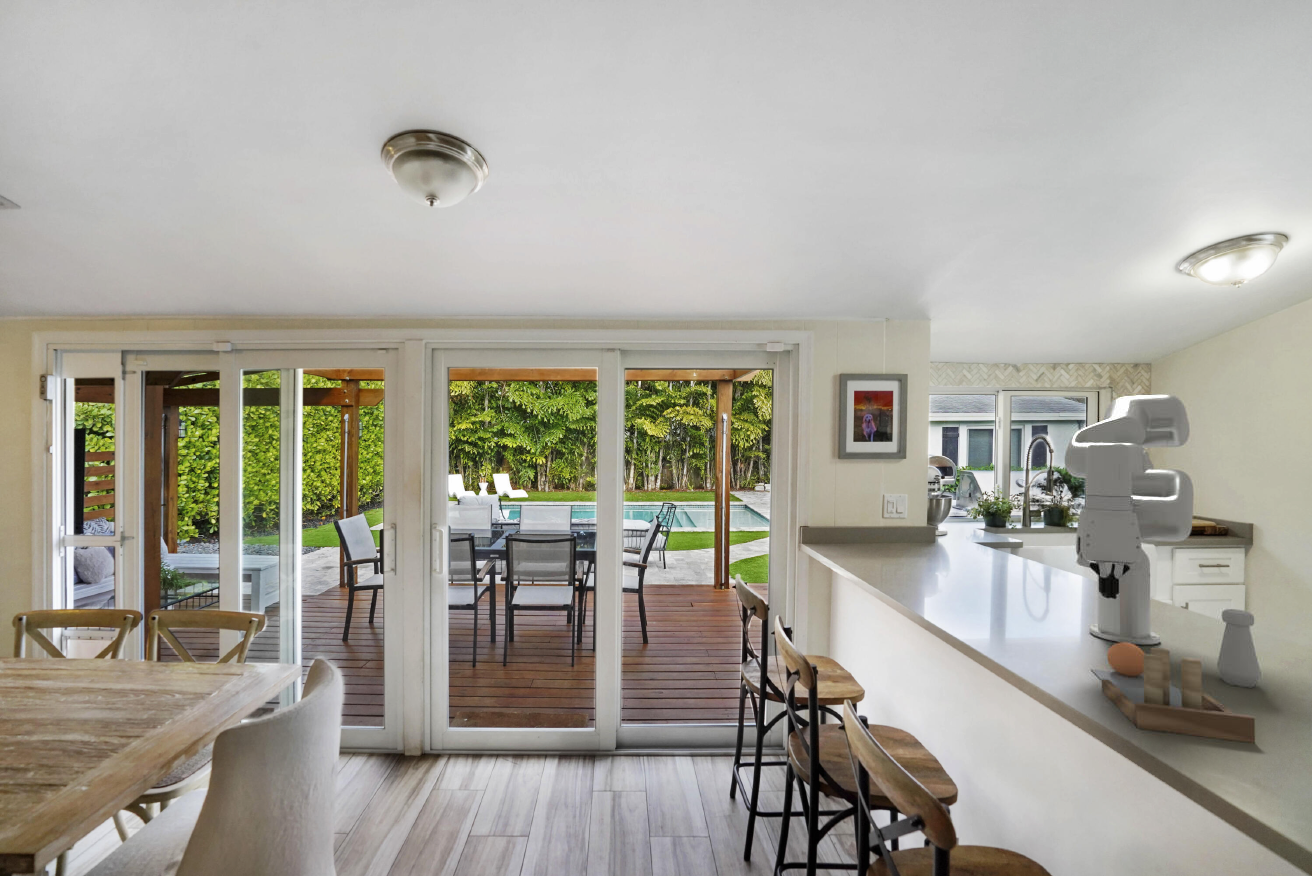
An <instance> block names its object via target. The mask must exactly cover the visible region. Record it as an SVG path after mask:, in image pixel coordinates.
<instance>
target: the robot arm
mask: <svg viewBox="0 0 1312 876" xmlns="http://www.w3.org/2000/svg"><path fill="white" fill-rule="evenodd" d="M1190 431H1191V429H1190V423H1189V418H1188V414H1187V410H1186V406H1185V405H1184V403H1183V402H1182V401H1181V399H1179V397H1177V396H1175V395H1172V394H1151V395H1149V394H1148V395H1146V394H1145V395H1129V396H1128V395H1126V396H1122V397H1118V398H1116V399H1114V400H1112V401H1111V402H1110V403H1109V404H1108V406H1107V407H1106V411H1105V413H1104V416H1103V419H1102V421H1099V422H1097V423H1095V424H1092V425H1090V426H1087V427H1084V428H1083V429H1081V430H1079V431H1077V432H1075V433H1074V434H1073V436H1072V437H1071V438H1070V441H1069V443H1068V445H1067V448H1066V450H1065V454H1064V467H1065V469H1066V471H1067V472H1068V473H1069V474H1070V475H1071V476H1072V477H1074V478H1079V479H1084V480H1085V481H1084V482H1085V487H1084V488H1085V489H1084V490H1085V492H1084V493H1085V495H1084V496H1085V498H1084V499H1085V509H1083V510H1082V509H1081V510H1080V512H1079V515H1078V516H1079V517H1078V522H1077V528H1076V538H1075V539H1076V540H1075V553H1076V555H1077V559H1076V564H1077V565H1079V566H1081V567H1085V568H1089V569H1091V570H1092V571H1093V572H1094V573H1095V574H1096V576H1097V578H1096V579H1097V581H1096V582H1097V583H1096V584H1097V585H1096V587H1097V590H1096V591H1097V593H1096V594H1097V623H1096V624H1094V623H1093V624H1091V625H1090V626H1089V633H1091V635H1093V636H1095V637H1099V638H1101V639H1103V640H1108V641H1112V642H1116V643H1121V642H1127V643H1131V644H1134V645H1140V646H1141V645H1143V646H1144V645H1145V646H1146V645H1148V646H1149V645H1156V644H1159V643H1160V640H1161V637H1160V635H1159V634H1157V633H1156V632H1154V631H1152V630H1151V562H1150V558H1149V556H1148V554H1147V553H1146V551H1145V550H1144V549H1143V548H1142V540H1145V541H1146V540H1148V541H1159V542H1162V541H1163V542H1182V541H1185V540H1186V539H1188V538H1189V536H1190V535H1191V533H1192V528H1193V521H1194V520H1193V515H1194V498H1195V497H1194V485H1193V481H1192V480H1191V477H1190V475H1189V474H1188V473H1187V472H1185V471H1183V470H1179V469H1173V468H1154V464H1153V462H1152V461H1151V459H1150V455H1149V454H1148V452H1147V451H1146V450H1145V448H1179V447H1182V446H1184V445H1185V444H1186V443H1187V442H1188V440H1189V437H1190Z"/></svg>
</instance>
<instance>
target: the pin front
mask: <svg viewBox="0 0 1312 876" xmlns="http://www.w3.org/2000/svg"><path fill="white" fill-rule="evenodd" d="M1150 654H1152V655H1157V656H1160V657H1162V658H1163V705H1165V706H1170V684H1171V681H1170V680H1171V679H1170V677H1171V676H1170V675H1171V671H1170V670H1171V669H1170V662H1171V661H1170V650H1168V649H1165V648H1161V647H1150Z"/></svg>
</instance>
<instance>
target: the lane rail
mask: <svg viewBox="0 0 1312 876" xmlns="http://www.w3.org/2000/svg"><path fill="white" fill-rule="evenodd" d="M1101 691H1102V692H1103V693H1104V694H1105V695H1106V696H1107V697H1108V698H1109V700H1111V701H1112V702H1114V703H1115V704H1116V705H1117V706H1118V707H1119V708H1120V709H1121V710H1122V711H1123V712H1124V713H1125V714H1126V715H1125V714H1124V713H1123V712H1122V711H1121V710H1120V709H1119V708H1118V707H1117V706H1116V705H1115V704H1114V703H1113V704H1114V705H1115V706H1116V707H1117V708H1118V709H1119V710H1120V711H1121V712H1122V713H1123V714H1124V715H1125V716H1126V717H1127V716H1128V717H1127V718H1128V720H1130V719H1131V720H1130V721H1131V722H1132V723H1133V725H1134V726H1135V725H1136V726H1137V727H1138V728H1139V730H1145V731H1146V730H1148V731H1154V730H1157V731H1156V732H1162V731H1167V732H1166V733H1171V732H1173V733H1172V734H1179V733H1181V735H1188V736H1189V735H1190V736H1196V737H1197V736H1198V737H1205V738H1211V739H1212V738H1213V739H1222V740H1227V741H1228V740H1229V741H1235V742H1236V741H1237V742H1246V743H1252V744H1256V736H1255V735H1256V730H1255V729H1256V726H1255V724H1256V722H1255V721H1256V718H1255V717H1254V716H1252V715H1251V714H1246V713H1244V714H1243V713H1236V712H1232V711H1231V710H1229V709H1228V708H1227V707H1225V706H1224V705H1223V704H1222V703H1220V702H1219V701H1217V699H1215V698H1214V697H1212V696H1211V695H1210V694H1209V693H1206V692H1205V691H1203V690H1202V709H1203V710H1201V709H1192V708H1183V707H1174V706H1165V705H1156V704H1147V703H1138V702H1135V705H1134V704H1133V703H1132V702H1131V701H1130V700H1129V699H1128V698H1127V697H1126V696H1125V695H1124V694H1123V693H1122V692H1121V691H1120V690H1119V689H1118V688H1117V687H1116V686H1115V685H1114V684H1113V683H1112V682H1111V681H1110V680H1107V679H1102V681H1101ZM1136 726H1135V727H1136ZM1137 727H1136V728H1137ZM1138 728H1137V729H1138ZM1158 730H1159V731H1158Z"/></svg>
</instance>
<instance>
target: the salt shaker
mask: <svg viewBox="0 0 1312 876" xmlns="http://www.w3.org/2000/svg"><path fill="white" fill-rule="evenodd" d="M1221 619H1222V621H1223V623H1225V627H1224V632H1223V636H1222V641H1221V645H1220V649H1219V655H1218V660H1217V663H1216V667H1217V671H1218V673H1219V675H1220V676H1221V678H1222V680H1223V681H1224V682H1225V683H1226V684H1229V685H1233V686H1236V685H1237V686H1236V687H1240V688H1253V687H1254V686H1255V684H1256V683H1257V682H1258V681H1259V679H1260V678H1261V677H1262V672H1261V669H1260V665H1259V662H1258V656H1257V655H1256V649H1255V645H1254V641H1253V635H1252V632H1251V627H1253V626H1254V625H1255V616H1254V614H1252V612H1249V611H1246V610H1242V609H1236V608H1227V609H1224V610H1222V612H1221Z"/></svg>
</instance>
